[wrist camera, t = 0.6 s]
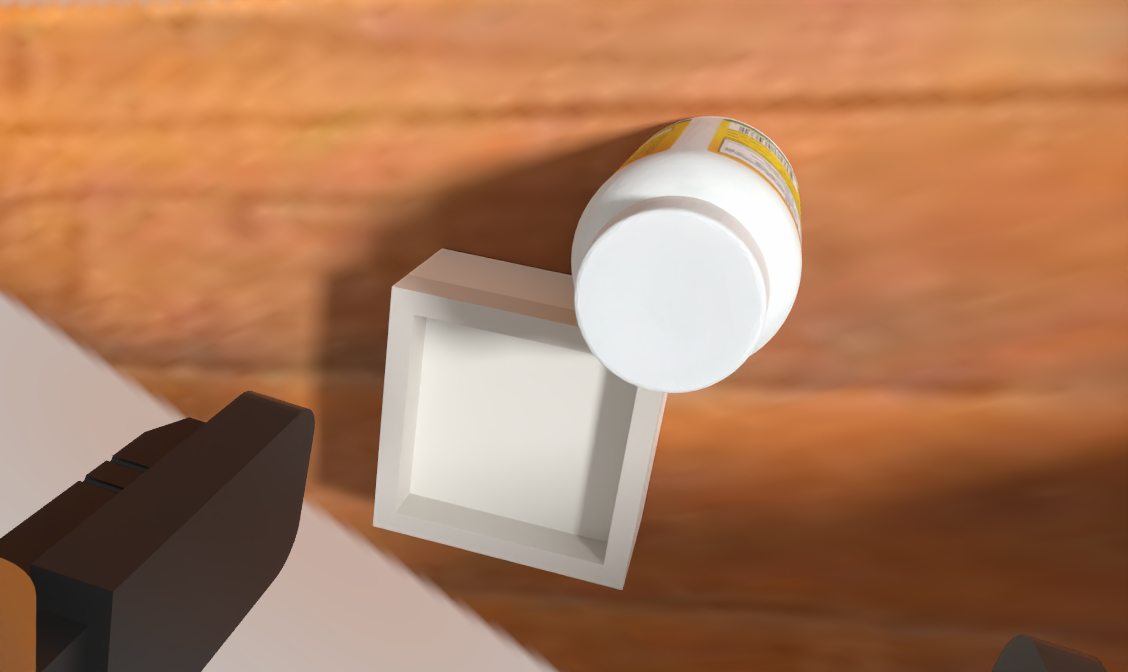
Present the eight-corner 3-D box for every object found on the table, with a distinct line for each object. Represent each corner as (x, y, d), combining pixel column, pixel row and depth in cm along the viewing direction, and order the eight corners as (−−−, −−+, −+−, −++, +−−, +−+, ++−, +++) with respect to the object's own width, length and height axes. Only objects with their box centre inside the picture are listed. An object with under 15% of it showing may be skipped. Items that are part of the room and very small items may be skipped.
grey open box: (686, 299, 29) (672, 346, 25) (642, 517, 32) (622, 590, 28) (441, 248, 30) (392, 286, 26) (420, 463, 33) (372, 525, 29)
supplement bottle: (807, 115, 26) (818, 179, 18) (792, 296, 28) (795, 436, 20) (618, 111, 28) (540, 169, 19) (616, 286, 29) (543, 413, 21)
